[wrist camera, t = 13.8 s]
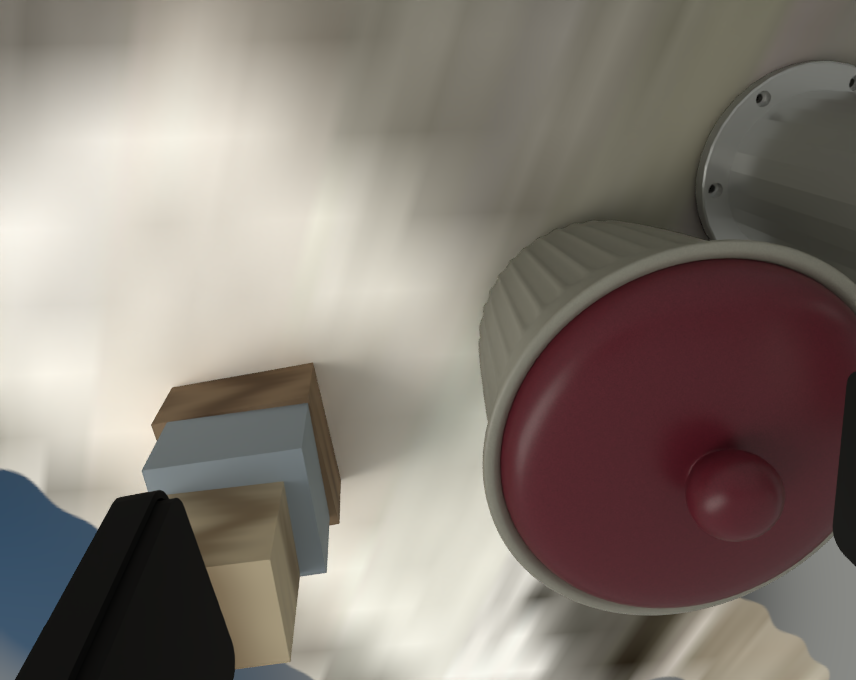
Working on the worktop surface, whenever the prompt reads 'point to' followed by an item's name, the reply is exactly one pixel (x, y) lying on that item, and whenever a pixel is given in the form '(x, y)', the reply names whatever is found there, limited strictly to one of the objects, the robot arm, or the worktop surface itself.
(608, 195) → the worktop surface
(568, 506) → the canister
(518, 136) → the worktop surface
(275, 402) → the tower base
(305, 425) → the tower top
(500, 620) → the worktop surface
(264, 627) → the oak cube
